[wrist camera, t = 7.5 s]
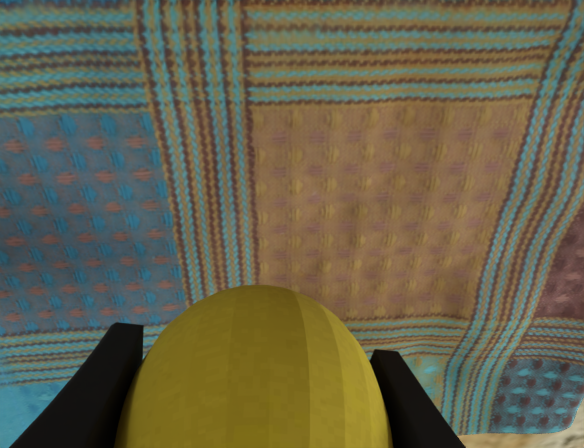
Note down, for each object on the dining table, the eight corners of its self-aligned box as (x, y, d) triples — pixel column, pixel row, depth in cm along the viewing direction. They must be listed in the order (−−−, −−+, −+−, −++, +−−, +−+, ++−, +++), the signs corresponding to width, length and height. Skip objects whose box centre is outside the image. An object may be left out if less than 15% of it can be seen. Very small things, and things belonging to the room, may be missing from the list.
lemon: (281, 387, 15) (294, 764, 8) (125, 322, 13) (-32, 751, 6) (395, 282, 12) (548, 687, 6) (227, 182, 10) (156, 623, 4)
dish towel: (-240, -25, 10) (-379, -14, 8) (762, -43, 11) (887, -39, 9) (24, 425, 19) (-6, 486, 17) (548, 398, 20) (581, 452, 18)
